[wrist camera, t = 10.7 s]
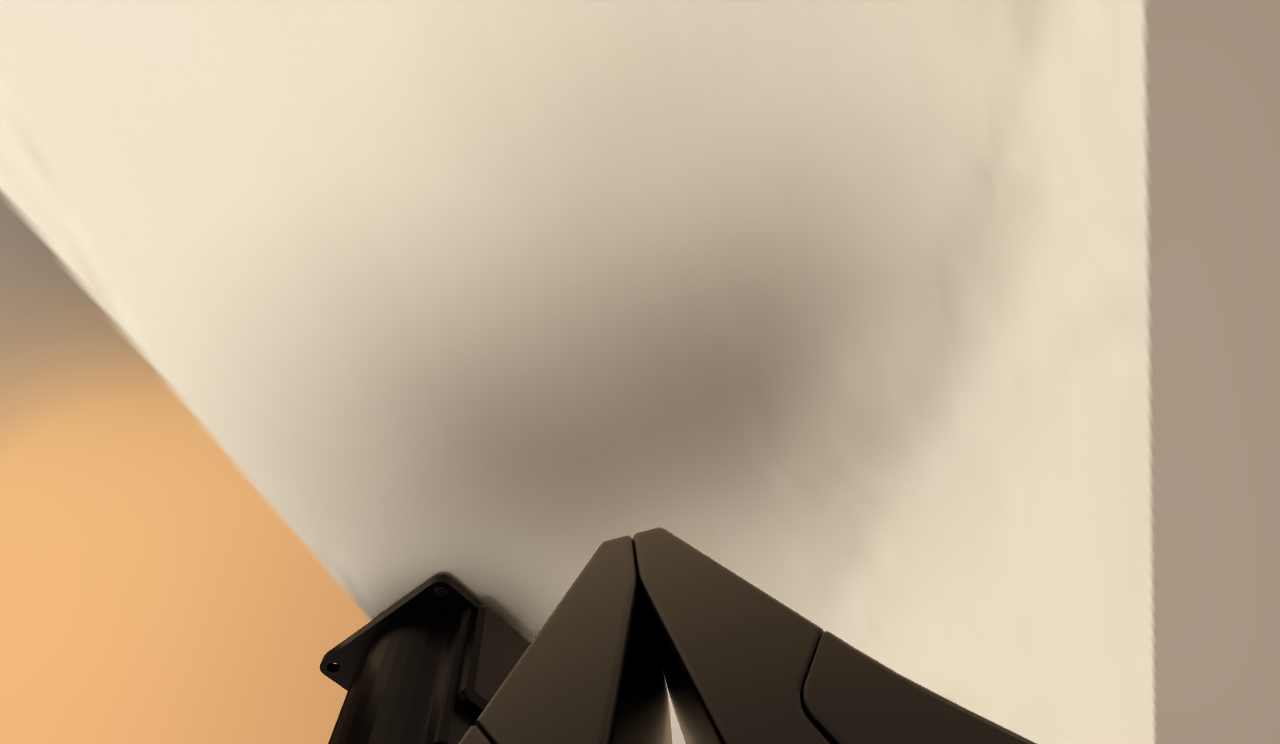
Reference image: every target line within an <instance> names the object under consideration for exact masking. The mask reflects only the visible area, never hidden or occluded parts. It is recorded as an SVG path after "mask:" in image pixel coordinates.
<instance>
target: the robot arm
mask: <svg viewBox="0 0 1280 744" xmlns="http://www.w3.org/2000/svg"><path fill="white" fill-rule="evenodd" d="M633 540H634V541H633ZM437 587H443V588H445V589H446V590H439V589H437ZM334 663H337V664H334ZM320 670H321V672H322V673H323V674H324V675H326V676H327V677H329V678H330V679H331V680H333V681H334V682H336V683H337V684H339V685H340V686H342V687H343V688H344V689H346V690H347V691H348V693H347V695H346V698H345V700H344V703H343V706H342V708H341V711H340V714H339V717H338V719H337V722H336V724H335V727H334V730H333V733H332V735H331V738H330V740H329V743H328V744H672V734H671V721H670V710H669V700H668V693H667V687H668V691H669V695H670V698H671V701H672V704H673V707H674V710H675V713H676V716H677V719H678V722H679V724H680V727H681V730H682V733H683V736H684V738H685V741H686V744H1036V743H1034V742H1032V741H1030V740H1028V739H1026V738H1024V737H1022V736H1020V735H1018V734H1016V733H1014V732H1012V731H1010V730H1008V729H1006V728H1004V727H1002V726H1000V725H998V724H996V723H994V722H992V721H990V720H988V719H986V718H984V717H982V716H980V715H978V714H976V713H974V712H972V711H969V710H967V709H965V708H963V707H961V706H959V705H957V704H956V703H954V702H952V701H950V700H948V699H946V698H944V697H942V696H940V695H938V694H936V693H934V692H932V691H931V690H929V689H927V688H925V687H923V686H921V685H919V684H917V683H915V682H913V681H911V680H909V679H908V678H906V677H904V676H902V675H900V674H898V673H896V672H895V671H893V670H891V669H890V668H888V667H886V666H885V665H883V664H881V663H879V662H878V661H876V660H874V659H873V658H871V657H869V656H868V655H866V654H864V653H862V652H861V651H859V650H857V649H856V648H854V647H852V646H851V645H849V644H848V643H846V642H844V641H843V640H841V639H840V638H838V637H836V636H835V635H833V634H832V633H830V632H828V631H826V632H824V631H823V629H822V628H820V627H819V626H817V625H815V624H814V623H812V622H811V621H809V620H807V619H806V618H804V617H803V616H801V615H800V614H798V613H796V612H795V611H793V610H792V609H790V608H788V607H787V606H785V605H784V604H782V603H781V602H779V601H777V600H776V599H774V598H773V597H771V596H769V595H768V594H766V593H765V592H763V591H762V590H760V589H758V588H757V587H755V586H754V585H752V584H750V583H749V582H747V581H746V580H744V579H743V578H741V577H739V576H738V575H736V574H735V573H733V572H731V571H730V570H728V569H727V568H725V567H724V566H722V565H720V564H719V563H717V562H716V561H714V560H712V559H711V558H709V557H708V556H706V555H705V554H703V553H701V552H700V551H698V550H697V549H695V548H693V547H692V546H690V545H689V544H687V543H686V542H684V541H682V540H681V539H679V538H678V537H676V536H674V535H673V534H671V533H670V532H668V531H667V530H665V529H663V528H655V529H651V530H647V531H643V532H640V533H637V534H635V535H634V538H633V539H632V538H631V537H630V536H624V537H620V538H616V539H612V540H608V541H605V542H603V543H602V544H601V545H600V547H599V548H598V549H597V551H596V552H595V554H594V555H593V557H592V558H591V559H590V561H589V562H588V564H587V565H586V566H585V568H584V569H583V571H582V572H581V573H580V575H579V576H578V578H577V579H576V581H575V582H574V583H573V585H572V586H571V588H570V589H569V590H568V592H567V593H566V595H565V596H564V598H563V599H562V600H561V602H560V603H559V605H558V606H557V607H556V609H555V610H554V612H553V613H552V614H551V616H550V617H549V619H548V620H547V622H546V623H545V624H544V626H543V627H542V629H541V630H540V631H539V633H538V634H537V636H536V637H535V638H534V640H533V641H532V643H531V644H530V645H529V644H528V643H527V641H526V640H525V639H524V638H523V637H522V636H521V635H520V634H519V633H517V632H516V631H515V630H514V629H513V628H512V627H510V626H509V625H508V624H507V623H506V622H505V621H504V620H502V619H501V618H500V617H499V616H498V615H497V614H495V613H494V612H493V611H492V610H491V609H490V608H488V607H486V606H484V605H483V604H482V603H480V602H479V601H478V600H477V599H476V598H475V597H473V596H472V595H471V594H470V593H469V592H468V591H466V590H465V589H464V588H463V587H462V586H461V585H459V584H458V583H457V582H456V581H455V580H454V579H452V578H451V577H449V576H447V575H437V576H435V577H433V578H431V579H430V580H429V581H427V582H426V583H424V584H423V585H422V586H420V587H419V588H417V589H416V590H415V591H413V592H412V593H410V594H409V595H408V596H406V597H405V598H403V599H402V600H400V601H399V602H398V603H396V604H395V605H393V606H392V607H391V608H389V609H388V610H386V611H385V612H384V613H382V614H381V615H379V616H378V617H377V618H375V619H374V620H372V621H371V622H369V623H368V624H367V625H366V626H364V627H362V628H361V629H360V630H358V631H357V632H355V633H354V634H353V635H351V636H350V637H348V638H347V639H346V640H344V641H343V642H341V643H340V644H338V645H337V646H336V647H334V648H333V649H332V650H330V651H329V652H327V653H326V654H325V655H324V658H323V660H322V662H321V664H320ZM665 679H666V681H665ZM666 683H667V687H666Z"/></svg>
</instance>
